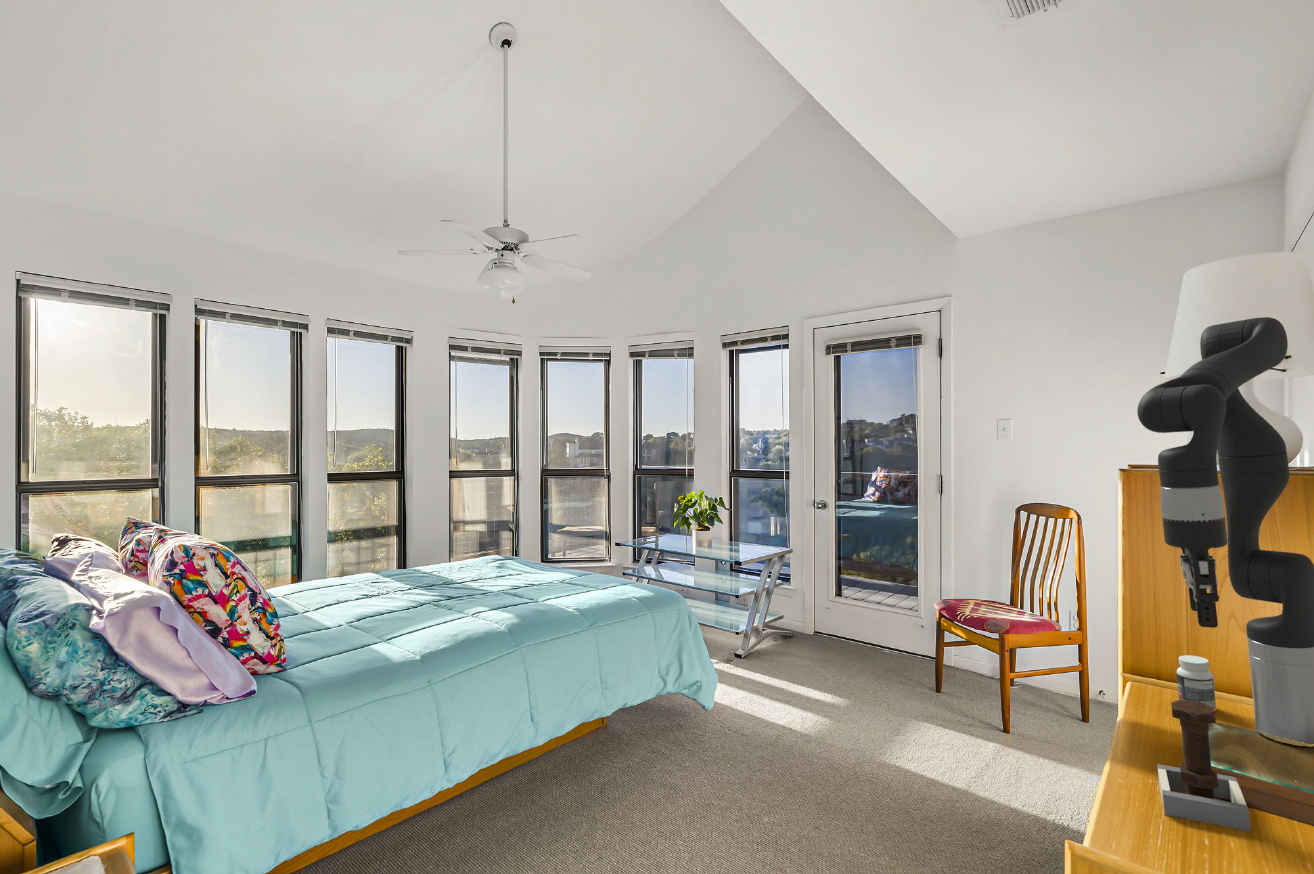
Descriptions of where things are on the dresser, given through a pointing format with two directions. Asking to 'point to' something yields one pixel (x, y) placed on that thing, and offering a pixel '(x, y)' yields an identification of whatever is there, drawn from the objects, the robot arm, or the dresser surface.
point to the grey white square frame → (1204, 801)
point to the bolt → (1196, 747)
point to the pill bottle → (1196, 680)
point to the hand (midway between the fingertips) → (1203, 618)
